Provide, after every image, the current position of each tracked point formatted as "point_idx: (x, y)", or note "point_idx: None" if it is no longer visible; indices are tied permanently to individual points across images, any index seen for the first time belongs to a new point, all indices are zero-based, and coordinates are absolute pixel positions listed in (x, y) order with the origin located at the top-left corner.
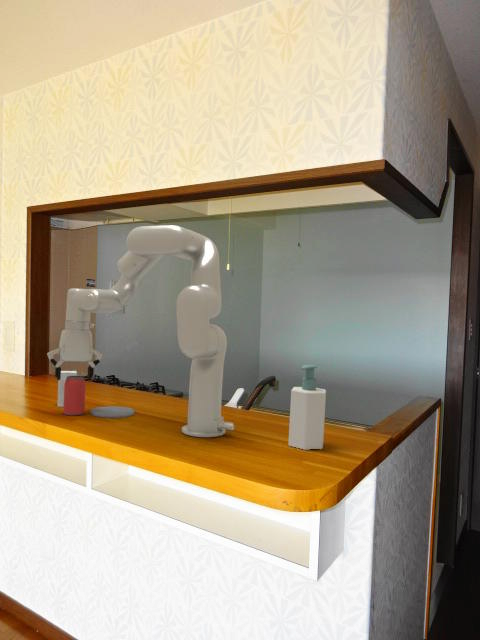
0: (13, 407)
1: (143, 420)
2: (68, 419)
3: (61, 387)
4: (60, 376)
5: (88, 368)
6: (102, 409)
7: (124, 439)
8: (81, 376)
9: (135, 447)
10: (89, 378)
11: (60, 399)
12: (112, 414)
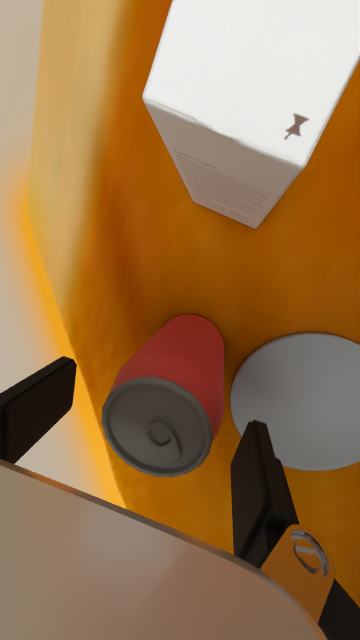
0: (55, 140)
1: (320, 517)
2: None
3: (191, 175)
4: (57, 420)
5: (251, 513)
6: (285, 379)
7: None
8: (204, 424)
9: None
10: (232, 473)
11: (198, 196)
12: None
